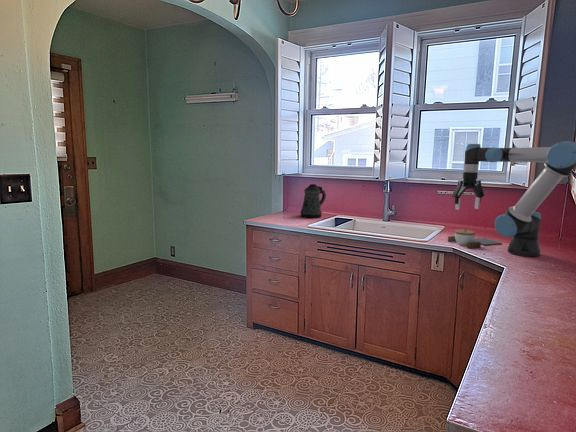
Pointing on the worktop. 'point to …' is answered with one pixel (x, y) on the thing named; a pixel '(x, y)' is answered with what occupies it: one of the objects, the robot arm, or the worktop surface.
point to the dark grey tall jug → (312, 202)
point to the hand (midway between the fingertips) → (467, 209)
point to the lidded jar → (464, 236)
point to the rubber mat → (486, 241)
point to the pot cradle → (469, 245)
